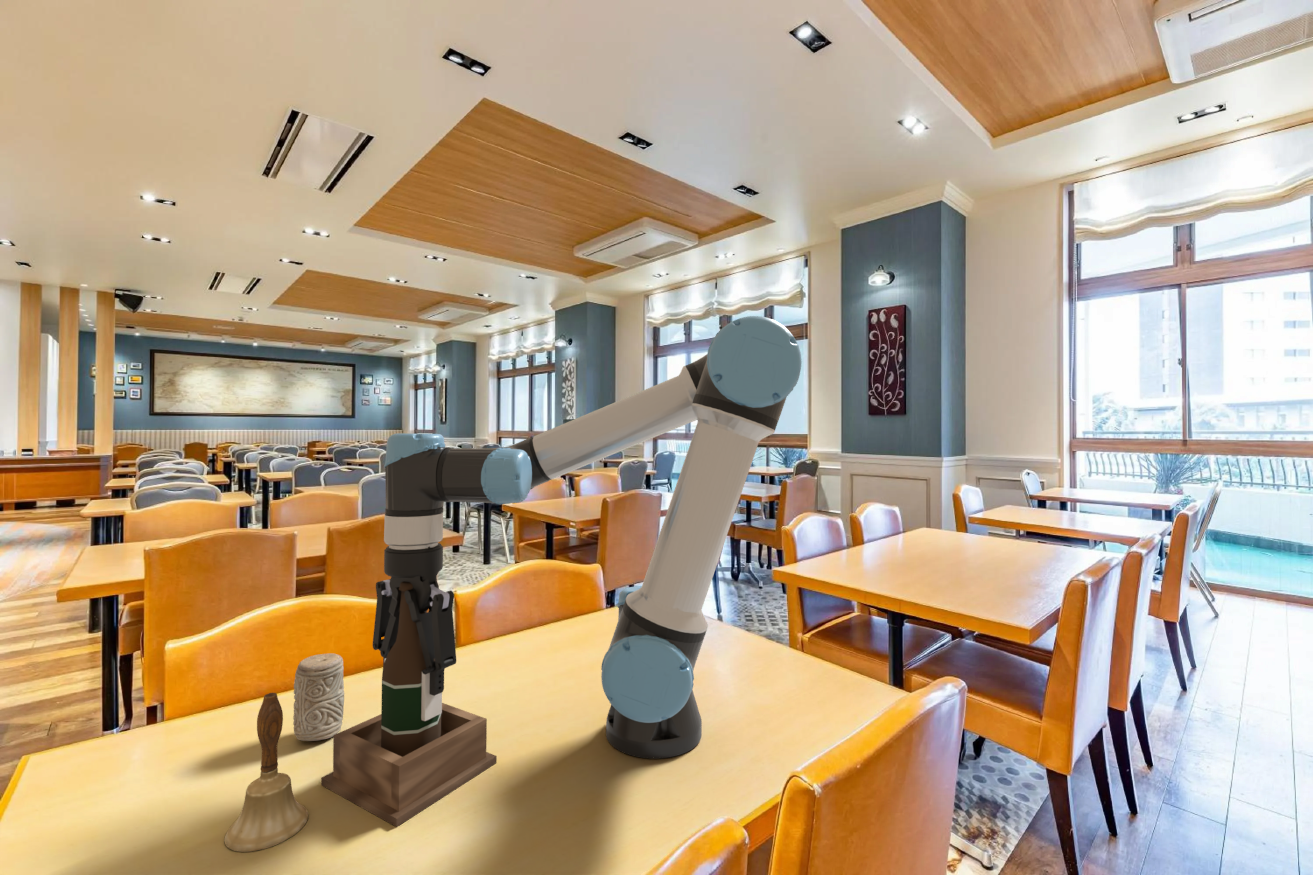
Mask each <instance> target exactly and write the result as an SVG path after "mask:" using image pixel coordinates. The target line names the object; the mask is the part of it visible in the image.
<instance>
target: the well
mask: <svg viewBox="0 0 1313 875" xmlns="http://www.w3.org/2000/svg"><path fill="white" fill-rule="evenodd" d="M487 721H488V720H487V718H486V717H483V716H480V715H477V714H474V713H471V712H469V711H467V710H463V709H460V708H458V707H455V706H453V705H449V704H447V703H444V702H442V713H441V737H439V738H437V739H435V740H433V741H432V742H430V743H428V744H426V745H424V746H422V747H420V748H418V749H417V750H415V751H413V752H411V753H409V754H407V755H405V756H403V757H401V756H399V755H397V754H395V753H393V752H390V751H388V750H386V749H384V748H382V747H381V714H379V715H376V716H374V717H371V718H369V719H367V720H365V721H363V722H360V723H358V724H356V725H354V726H351V727H349V728H348V729H347V728H346V729H344V730H342V731H339V732H338V733H337V734H335V735H333V737H332V739H333V741H332V742H333V745H332V746H333V748H332V750H333V751H332V755H333V756H332V772H330V773H327V774H326V775H324V776H322V777H320V778H321V779H320V780H321V782H320V784H321V786H323V787H324V788H326V789H328V790H329V791H331V792H333V793H334V794H336V795H339V796H340V797H342V798H344V799H345V800H348V801H349V802H351V803H352V804H354V805H356V806H358V807H360V808H362V809H363V810H366V811H367V812H369V813H371V815H372V814H373V815H374V816H376V817H378V818H379V819H382V820H383V821H385V822H387V823H389V824H390V825H393V826H394V827H397V828H398V827H399V826H400V825H402V824H404V823H406V822H407V821H408V820H409V821H410V819H412V818H414V816H416V815H418V814H419V813H421V812H422V811H424V810H426V809H427V808H429V807H430V806H432V805H433V804H435V803H436V802H438V801H440V800H441V799H442V798H444V797H446V796H447V795H450V794H451V793H452V792H454V791H455V790H457V789H458V788H460V787H462V786H463V785H465V784H466V783H468V782H469V781H471V780H472V779H473V778H475V777H477V776H479V775H480V774H481V773H483V772H485V771H486V770H488V769H489V768H491V767H492V766H494V765H495V764H497V755H495V754H493V753H491V752H487V730H488V729H487Z"/></svg>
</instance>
